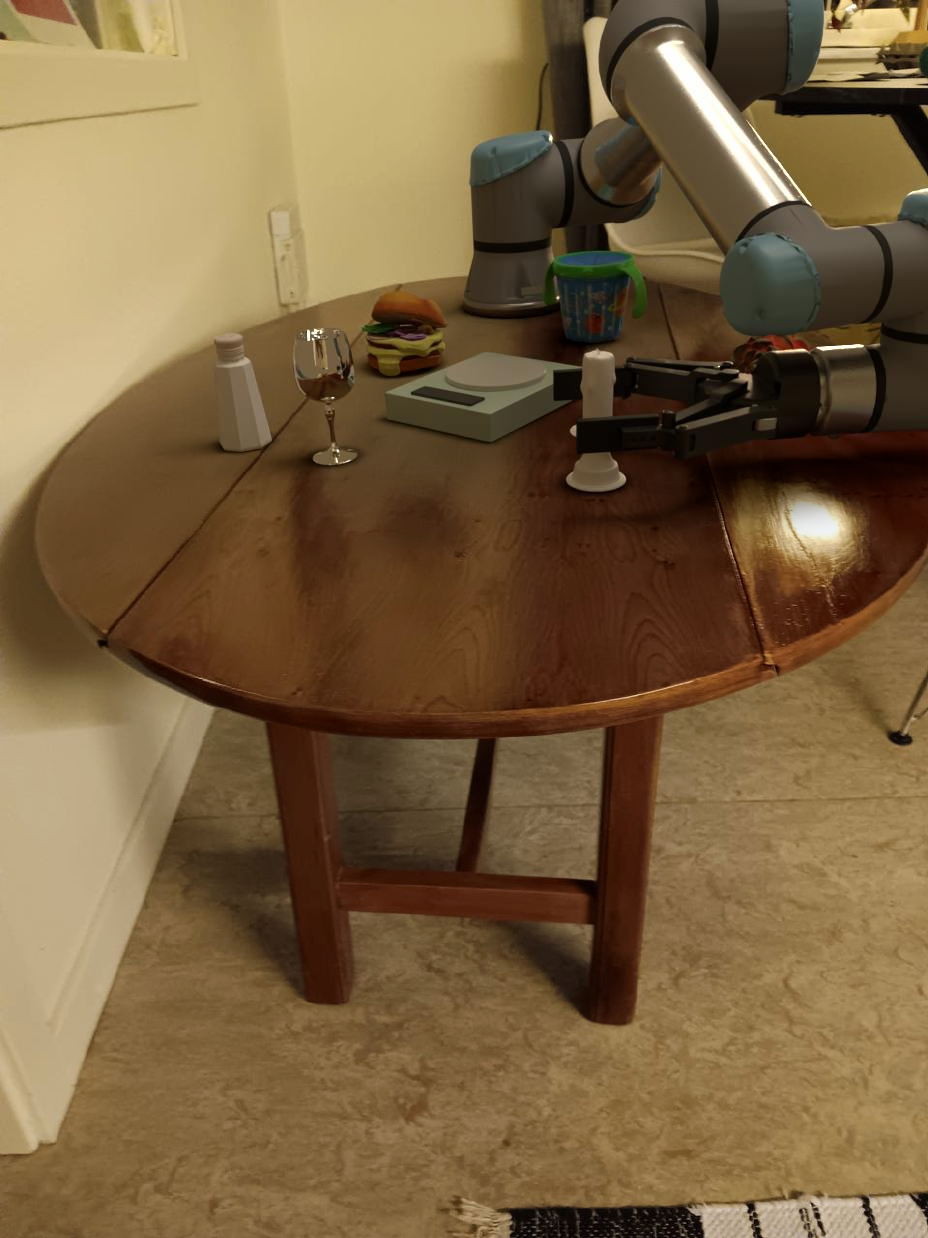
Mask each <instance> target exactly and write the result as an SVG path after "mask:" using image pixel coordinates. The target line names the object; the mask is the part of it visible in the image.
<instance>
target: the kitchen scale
mask: <svg viewBox="0 0 928 1238" xmlns="http://www.w3.org/2000/svg"><path fill="white" fill-rule="evenodd" d="M578 368H582V366H580V365H579V366H578V365H572V364H565V363H560V362H553V361H548V360H541V359H535V358H529V357H522V356H516V355H510V354H505V353H504V354H503V353H498V352H490V351H484V352H481V353H479V354H476V355H474V356H472V357H469V358H466V359H464V360H461V361H459V362H457V363H454V364H451V365H449V366H447V367H443V368H441V369H440V370H437V371H435V372H431V373H430V374H427V375H424V376H422V377H419V378H417V379H414V380H412V381H410V382H407V383H404V384H403V385H399V386H398V387H395V388H393V389H390V390H388V391H385V392H384V398H385V408H386V419H387V420H389V421H393V422H398V423H402V424H407V425H411V426H415V427H421V428H424V429H428V430H432V431H433V430H434V431H438V432H443V433H447V434H451V435H456V436H460V437H464V438H469V439H472V440H478V441H482V442H486V443H487V442H488V443H493V442H495V441H497V440H499V439H501V438H502V437H505V436H506V435H508V434H510V433H513V432H515V431H516V430H518V429H520V428H522V427H524V426H526V425H528V424H529V423H531V422H534V421H535V420H537V419H540V418H542V417H543V416H545V415H547V414H549V413H551V412H553V411H555V410H557V409H559V408H560V407H563V406H565V405H566V404H568V403H571V402H573V400H566V401H554V400H553V370H562V369H578Z"/></svg>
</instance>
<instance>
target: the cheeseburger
mask: <svg viewBox="0 0 928 1238" xmlns="http://www.w3.org/2000/svg"><path fill="white" fill-rule="evenodd" d="M370 317H371V319H372V320H373V321H375V322H377V323H372V324H370V325H367V324H365V325H364V327H363V326H362V327H361V330H362V332H366V336H365V340H366V342H367V343H368V344H366V347H365V351H366V353H367V354H366V357H367V360H368V361H367V362H368V364H369V366H370V367H372V368H374V369H375V370H378V371H379V372H380V373H381V374H382V375H384V376H387V377H395V376H396V377H397V376H398V375H399V374H401V373H406V372H412V371H417V370H421V369H426V368H433V367H436V366H437V365H439V364H440V363H441V362H442V357H443V353H444V351H445V349H446V343H445V342H444V341H443V340H442V339H444V333H443V331H442V330H440V329H443V328H447V327H448V326H449V323H445V319H444V315H443V313H442V310H441V308H440V306H439V305H438V304H437V303H436V302H435V301H434V300H432V299H428V298H420V297H418V296H417V295H415V294H412V293H410V292H408V291H403V290H402V291H401V290H397V291H396V290H395V291H392V290H391V291H386V292H385V293H383V294H382V295H380V296H379V298H378V299H377V300H376V302H375V303H374V306H373V308H372V311H371V315H370Z"/></svg>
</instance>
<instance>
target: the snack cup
mask: <svg viewBox="0 0 928 1238" xmlns="http://www.w3.org/2000/svg"><path fill="white" fill-rule="evenodd" d="M635 263H636V258H635V256H634V255H633V254H631V253H628V252H624V251H618V250H617V251H616V250H590V251H578V252H570V253H565V254H562V255H559V256H557V257H554V260H553V262H552V263H551V264H550V265H549V267H548V268H547V271H546V274H545V278H544V284H543V294H542V297H543V301H544V303H545V304H546V305H547V306H550V305H553V304H554V303H555V302H556V300H557V299H556V292H555V286H554V277H555V276H556V279H557V287H558V294H559V299H560V308H559V310H560V314H561V321H562V327H563V333H564V335H565V338H566V340H571V341H573V342H576V343H588V344H592V343H593V344H594V343H602V342H608V341H613V340H616V339H617V338H618V337H619V336H620V335H621V333H622V329H623V324H624V320H625V313H626V306H627V302H628V296H629V295H628V294H629V288H630V281H632V286H633V290H634V296H635V298H634V303H633V307H632V313H631V317H632V318H633V319H635V320H637V319H640V318H642V317H643V316H644V314H645V313H646V310H647V307H648V297H647V288H646V284H645V280H644V277H643V275H642V272H641V270H640V269H639V268H638V266H636V264H635Z"/></svg>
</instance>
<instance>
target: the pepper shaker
mask: <svg viewBox="0 0 928 1238" xmlns="http://www.w3.org/2000/svg"><path fill="white" fill-rule="evenodd" d="M243 341H244V336H243V335H242V334H240V333H237V332H227V333H222V334H219V335H217V336H215V337H213V343H214V345H215V350H216V351H215V352H216V354H217V359H218V360H216V361H215V362H213V375H214V376H213V377H214V389H215V400H216V413H217V427H218V439H219V445H221V447H222V448H223V450H224V451H227V452H239V453H244V452H249V451H255V450H260V449H262V448H264V447H265V446H267V445H268V444H270V443H272V440H273V438H272V435H271V432H270V428H269V423H268V419H267V415H266V411H265V408H264V405H263V401H262V397H261V393H260V390H259V385H258V382H257V379H256V375H255V370H254V367H253V364H252V361H251V360H250V359H249V358H248V357H246V356H245V353H244V352H245V349H244V344H243Z"/></svg>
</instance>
